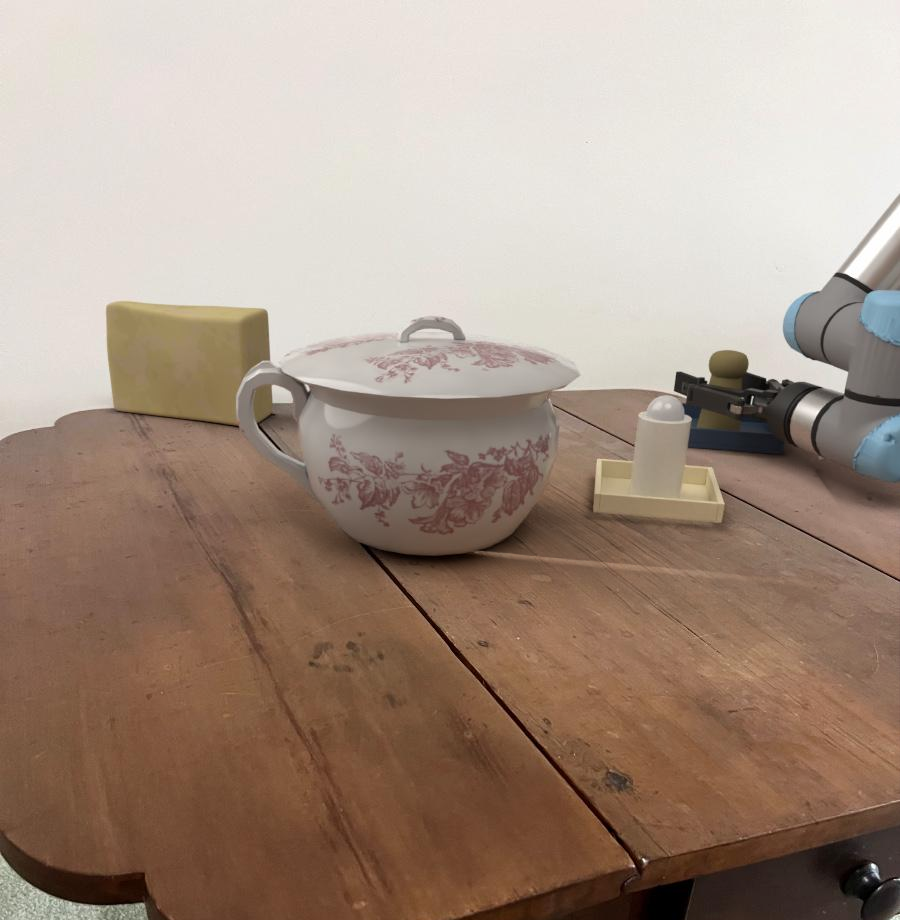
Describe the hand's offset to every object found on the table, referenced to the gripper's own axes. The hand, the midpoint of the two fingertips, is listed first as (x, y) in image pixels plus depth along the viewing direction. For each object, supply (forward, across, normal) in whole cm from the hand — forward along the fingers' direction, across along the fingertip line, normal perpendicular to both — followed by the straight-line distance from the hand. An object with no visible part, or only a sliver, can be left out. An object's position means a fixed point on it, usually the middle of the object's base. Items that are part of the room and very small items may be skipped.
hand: (706, 380), depth 130 cm
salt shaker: (-28, -24, -6) cm, 37 cm away
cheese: (+22, -70, -7) cm, 73 cm away
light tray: (-28, -24, -7) cm, 37 cm away
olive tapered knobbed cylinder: (-5, 0, -6) cm, 8 cm away
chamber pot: (-30, -52, -7) cm, 60 cm away
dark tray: (-5, 0, -7) cm, 8 cm away
